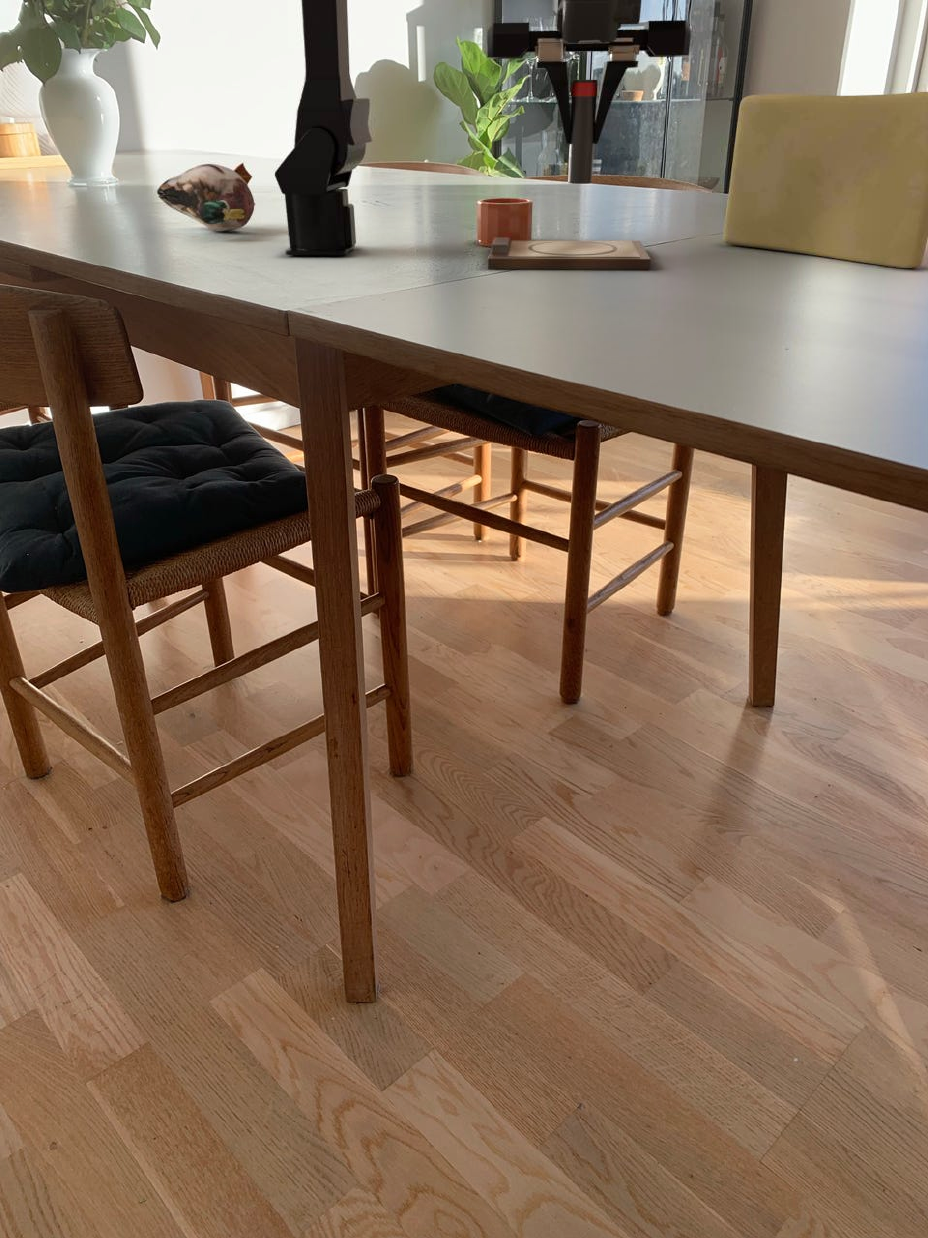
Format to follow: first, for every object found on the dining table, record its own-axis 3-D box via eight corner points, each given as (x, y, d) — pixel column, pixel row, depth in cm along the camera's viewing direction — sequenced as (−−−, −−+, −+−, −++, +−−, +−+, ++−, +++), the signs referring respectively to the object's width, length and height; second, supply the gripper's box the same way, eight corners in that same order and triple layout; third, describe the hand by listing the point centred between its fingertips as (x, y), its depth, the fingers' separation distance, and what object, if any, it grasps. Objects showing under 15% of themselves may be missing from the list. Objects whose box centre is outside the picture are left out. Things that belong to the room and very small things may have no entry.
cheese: (948, 264, 91) (991, 90, 83) (884, 274, 87) (923, 92, 79) (778, 237, 107) (801, 90, 100) (717, 244, 103) (736, 91, 96)
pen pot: (476, 247, 103) (476, 203, 101) (479, 239, 108) (479, 197, 106) (531, 247, 103) (532, 203, 100) (531, 239, 108) (532, 197, 106)
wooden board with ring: (487, 268, 91) (488, 249, 90) (493, 249, 101) (493, 232, 100) (650, 269, 90) (651, 250, 89) (639, 250, 100) (640, 232, 99)
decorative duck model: (232, 183, 104) (109, 176, 106) (241, 252, 108) (122, 245, 110) (275, 159, 116) (164, 154, 118) (281, 222, 120) (174, 216, 122)
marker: (567, 183, 91) (572, 79, 87) (567, 181, 94) (571, 79, 89) (592, 183, 91) (598, 79, 87) (591, 181, 93) (597, 79, 89)
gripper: (483, -60, 77) (482, 149, 84) (709, -65, 75) (687, 148, 83) (490, -44, 86) (489, 142, 94) (691, -48, 85) (673, 141, 93)
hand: (581, 143), depth 91 cm, fingers closed on marker, 2 cm apart
